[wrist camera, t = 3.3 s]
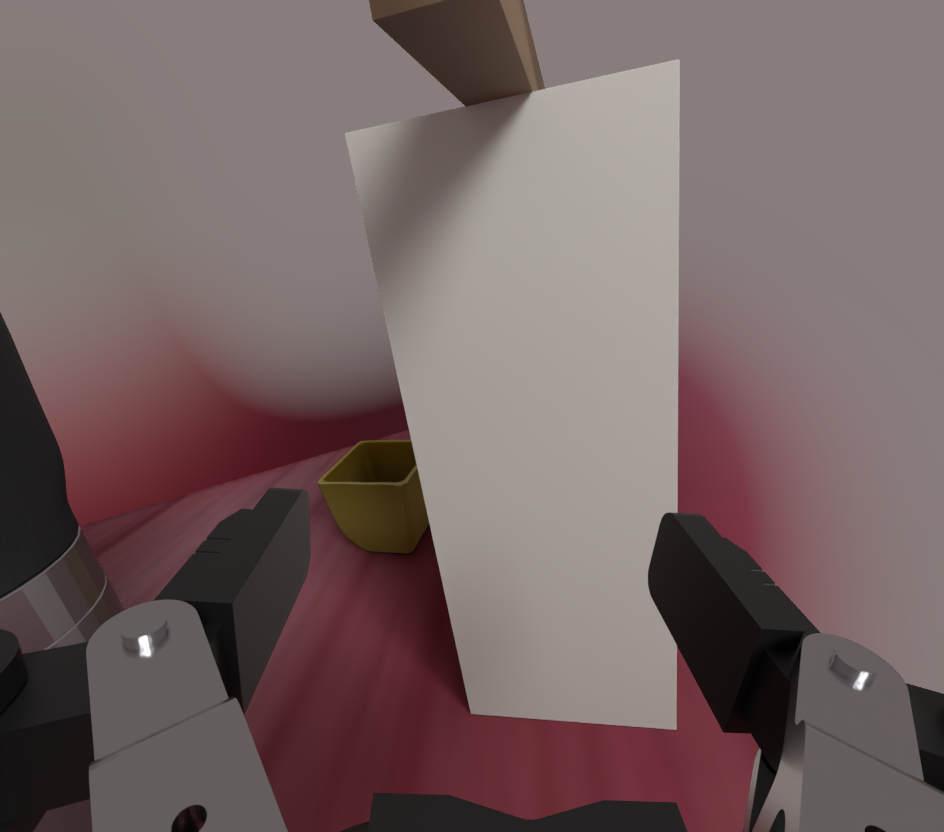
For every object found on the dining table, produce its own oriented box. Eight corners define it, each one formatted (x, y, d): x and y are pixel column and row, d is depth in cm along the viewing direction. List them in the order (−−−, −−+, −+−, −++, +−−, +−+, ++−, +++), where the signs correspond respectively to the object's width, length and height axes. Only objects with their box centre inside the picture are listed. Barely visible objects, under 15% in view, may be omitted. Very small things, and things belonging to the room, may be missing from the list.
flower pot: (452, 514, 52) (438, 437, 48) (424, 569, 44) (404, 483, 41) (378, 512, 54) (359, 440, 51) (339, 564, 47) (314, 483, 43)
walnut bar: (372, 20, 9) (341, -147, 9) (509, 146, 29) (504, 100, 28) (495, -14, 9) (475, -196, 8) (549, 138, 29) (545, 91, 28)
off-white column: (470, 713, 30) (344, 133, 19) (497, 580, 41) (428, 159, 29) (676, 729, 28) (679, 58, 16) (647, 582, 38) (636, 118, 27)
